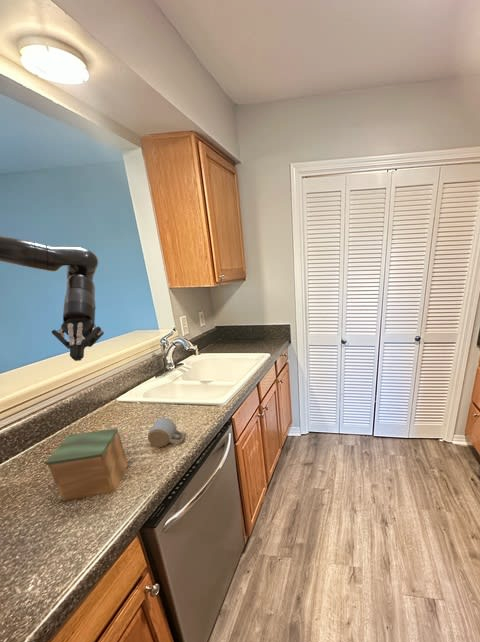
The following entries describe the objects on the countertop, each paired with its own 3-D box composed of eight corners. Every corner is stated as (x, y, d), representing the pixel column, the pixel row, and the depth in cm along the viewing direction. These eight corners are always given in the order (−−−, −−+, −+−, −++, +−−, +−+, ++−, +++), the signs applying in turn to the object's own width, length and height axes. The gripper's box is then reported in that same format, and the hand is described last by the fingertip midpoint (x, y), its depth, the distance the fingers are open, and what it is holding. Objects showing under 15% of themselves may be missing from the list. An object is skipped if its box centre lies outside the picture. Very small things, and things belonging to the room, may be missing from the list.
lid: (102, 456, 81) (101, 454, 81) (45, 465, 78) (44, 462, 78) (118, 430, 94) (117, 428, 94) (70, 437, 91) (69, 434, 91)
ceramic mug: (149, 449, 108) (144, 429, 105) (156, 437, 116) (152, 418, 113) (181, 447, 109) (177, 426, 106) (186, 435, 117) (183, 416, 114)
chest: (116, 495, 87) (103, 455, 82) (64, 505, 84) (47, 463, 79) (129, 467, 99) (118, 430, 94) (83, 474, 96) (70, 437, 91)
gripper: (46, 301, 90) (41, 354, 83) (98, 297, 92) (97, 349, 86) (61, 317, 97) (57, 368, 90) (109, 314, 99) (108, 363, 93)
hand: (76, 359), depth 88 cm, fingers closed
